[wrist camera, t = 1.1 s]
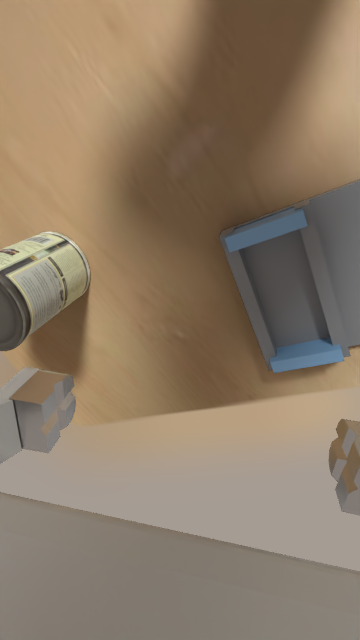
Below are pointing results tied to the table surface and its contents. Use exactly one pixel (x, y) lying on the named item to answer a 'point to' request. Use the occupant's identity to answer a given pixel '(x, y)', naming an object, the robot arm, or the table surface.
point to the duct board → (301, 278)
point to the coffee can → (38, 284)
